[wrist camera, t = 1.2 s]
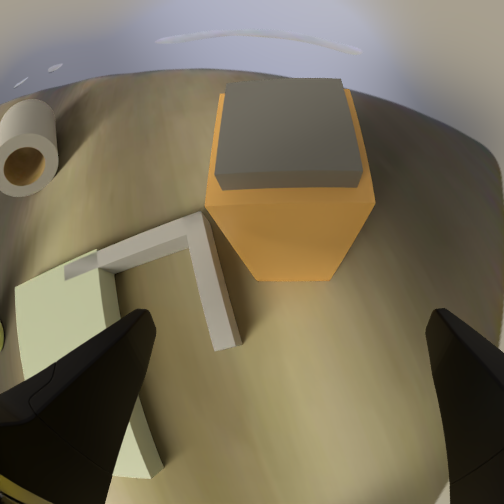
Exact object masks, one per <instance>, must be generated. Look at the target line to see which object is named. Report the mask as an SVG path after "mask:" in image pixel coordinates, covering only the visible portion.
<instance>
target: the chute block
mask: <svg viewBox="0 0 504 504" xmlns="http://www.w3.org/2000/svg"><path fill="white" fill-rule="evenodd" d="M374 205H375V197H374V191H373V185H372V179H371V174H370V169H369V164H368V159H367V155H366V150H365V146H364V141H363V137H362V133H361V129H360V125H359V121H358V117H357V114H356V110H355V107H354V103H353V100H352V96H351V93H350V90H349V89H344V88H343V84H342V81H341V79H332V78H287V79H267V80H254V81H243V82H234V83H227V84H226V91H225V94H220V98H219V104H218V110H217V117H216V123H215V130H214V137H213V144H212V151H211V158H210V166H209V174H208V182H207V190H206V199H205V208H206V209H207V210H208V212H209V213H210V215H211V216H212V218H213V219H214V221H215V222H216V223H217V225H218V226H219V228H220V229H221V231H222V232H223V234H224V235H225V236H226V238H227V239H228V241H229V242H230V244H231V245H232V246H233V248H234V249H235V251H236V252H237V254H238V255H239V256H240V258H241V259H242V261H243V262H244V264H245V265H246V266H247V268H248V269H249V271H250V272H251V273H252V275H253V276H254V278H255V279H256V281H330V279H331V278H332V276H333V275H334V273H335V271H336V270H337V268H338V267H339V265H340V263H341V262H342V260H343V259H344V257H345V255H346V254H347V252H348V250H349V249H350V247H351V245H352V244H353V242H354V240H355V239H356V237H357V235H358V233H359V232H360V230H361V228H362V226H363V225H364V223H365V221H366V219H367V218H368V216H369V214H370V212H371V211H372V209H373V207H374Z"/></svg>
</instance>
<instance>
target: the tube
mask: <svg viewBox="0 0 504 504" xmlns="http://www.w3.org/2000/svg"><path fill="white" fill-rule="evenodd" d="M3 341H4V332H3V327H2V324H1V321H0V351H1V350H2V347H3Z"/></svg>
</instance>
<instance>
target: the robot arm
mask: <svg viewBox="0 0 504 504" xmlns="http://www.w3.org/2000/svg"><path fill="white" fill-rule="evenodd" d="M425 334H426V340H427V346H428V351H429V357H430V364H431V370H432V376H433V381H434V385H435V389H436V393H437V398H438V403H439V408H440V413H441V418H442V424H443V430H444V436H445V443H446V450H447V459H448V469H449V482H450V504H504V353H503V352H502V351H501V350H500V349H498V348H497V347H496V346H495V345H493V344H492V343H491V342H490V341H488V340H487V339H486V338H484V337H483V336H482V335H481V334H479V333H478V332H477V331H475V330H474V329H473V328H471V327H470V326H469V325H467V324H466V323H465V322H463V321H462V320H461V319H459V318H458V317H457V316H455V315H454V314H453V313H451V312H450V311H448V310H447V309H445V308H440V309H435V310H433V312H432V314H431V317H430V319H429V322H428V325H427V327H426V332H425ZM155 337H156V327H155V324H154V322H153V319H152V316H151V314H150V312H149V311H148V310H147V309H135V310H134V311H132V312H131V313H129V314H128V315H126V316H124V317H123V318H121V319H120V320H118V321H117V322H115V323H114V324H112V325H110V326H109V327H107V328H106V329H104V330H103V331H101V332H100V333H98V334H97V335H95V336H94V337H92V338H91V339H89V340H87V341H86V342H84V343H83V344H81V345H80V346H78V347H77V348H75V349H74V350H72V351H71V352H69V353H68V354H66V355H65V356H63V357H62V358H60V359H59V360H57V362H54V363H53V364H51V365H50V366H48V367H47V368H45V369H43V370H42V371H40V372H39V373H37V374H35V375H34V376H32V377H30V378H29V379H27V380H25V381H23V382H21V383H20V384H18V385H16V386H14V387H12V388H11V389H9V390H7V391H5V392H3V393H1V394H0V504H105V501H106V497H107V494H108V490H109V486H110V483H111V479H112V475H113V472H114V468H115V465H116V462H117V458H118V455H119V452H120V448H121V445H122V442H123V439H124V436H125V433H126V430H127V427H128V424H129V421H130V418H131V415H132V412H133V409H134V406H135V403H136V400H137V397H138V394H139V392H140V389H141V386H142V383H143V381H144V378H145V375H146V372H147V368H148V364H149V360H150V356H151V352H152V348H153V344H154V341H155Z"/></svg>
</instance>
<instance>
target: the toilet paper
mask: <svg viewBox="0 0 504 504" xmlns="http://www.w3.org/2000/svg"><path fill="white" fill-rule="evenodd" d="M57 168H58V150H57V139H56V125H55V116H54V113H53V110H52V109H51V108H50V106H49V105H48V104H46V103H45V102H43V101H40V100H36V99H28V100H24V101H21V102H19V103H17V104H15V105H14V106H12V107H11V108H10V109H9V110H8V111H7V112H6V113H5V115H4V116H3V118H2V120H1V123H0V191H2V192H3V193H5V194H7V195H10V196H14V197H24V196H29V195H32V194H34V193H37V192H38V191H40V190H42V189H43V188H44V187H45V186H46V185H47V184H48V183H49V182H50V181H51V180H52V179H53V177H54V175H55V173H56V171H57Z"/></svg>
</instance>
